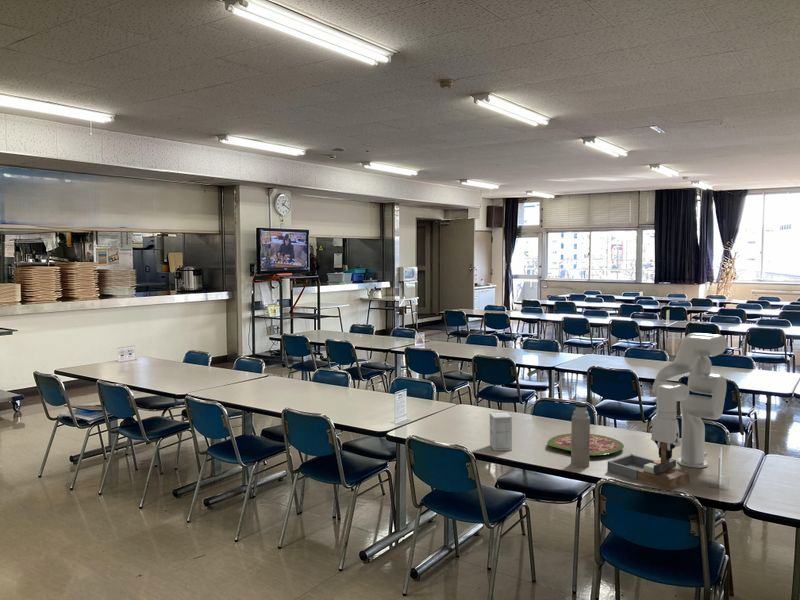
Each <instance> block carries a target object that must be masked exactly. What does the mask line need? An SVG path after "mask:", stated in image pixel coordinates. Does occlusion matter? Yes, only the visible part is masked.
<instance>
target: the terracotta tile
mask: <svg viewBox="0 0 800 600" xmlns="http://www.w3.org/2000/svg"><path fill="white" fill-rule="evenodd" d="M659 463H661V459H658V460H655V461H654V462H653V464H656V465H657V464H659Z"/></svg>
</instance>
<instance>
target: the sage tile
mask: <svg viewBox="0 0 800 600" xmlns="http://www.w3.org/2000/svg"><path fill="white" fill-rule="evenodd" d="M654 465H656V464H653V463H649V464H646V465H644V471H646V472H649V473H652V474H656V473H653V472H654Z"/></svg>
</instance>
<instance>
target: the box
mask: <svg viewBox="0 0 800 600" xmlns="http://www.w3.org/2000/svg"><path fill="white" fill-rule="evenodd" d="M654 461H656V459H655V460H654V459H651V458H647V457H643V456H639V455H636V454H632V453H630V454H627V455H624V456H620V457H618V458H615V459H612V460H609V461H607V468H606V469H607V472H606V473H610V474H614V475H617V476H620V477H623V478H626V479H630V480H632V481H638V480H637V475H638V471H639V470H642V469H644V465H646V464H649V463H653V462H654Z"/></svg>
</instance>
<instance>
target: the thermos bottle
mask: <svg viewBox="0 0 800 600" xmlns="http://www.w3.org/2000/svg"><path fill="white" fill-rule="evenodd" d="M574 405H575V410H572V412H573V413H572V415H571V429H570V430H571V452H570V465H571V466H572V467H575V468H579V469H580V468H581V469H585V468H589V467H590V455H589V449H590V434H591V416H590V415H589V411H588V410H587V404H585V403H579V402H578V403H575V404H574Z"/></svg>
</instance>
